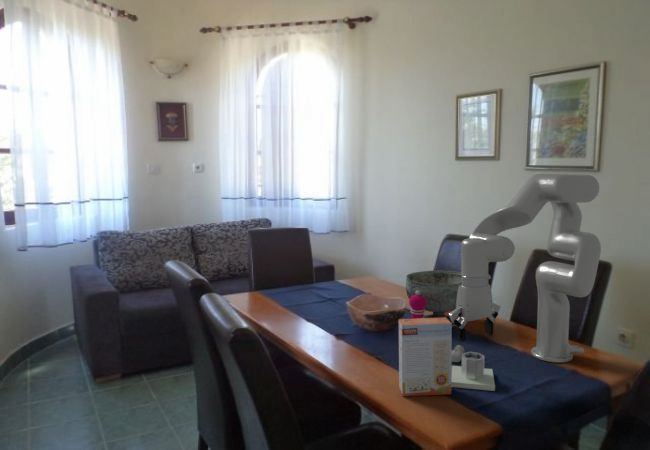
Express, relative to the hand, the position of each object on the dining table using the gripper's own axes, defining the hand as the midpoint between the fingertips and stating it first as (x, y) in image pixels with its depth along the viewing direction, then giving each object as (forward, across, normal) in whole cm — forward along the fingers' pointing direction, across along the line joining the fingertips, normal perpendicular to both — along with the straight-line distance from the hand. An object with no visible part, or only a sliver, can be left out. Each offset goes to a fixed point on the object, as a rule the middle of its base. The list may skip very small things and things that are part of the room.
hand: (475, 337), depth 148 cm
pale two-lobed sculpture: (+14, -4, -15) cm, 21 cm away
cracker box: (+13, +18, +1) cm, 22 cm away
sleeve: (+12, +1, 0) cm, 12 cm away
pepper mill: (+14, +2, -31) cm, 33 cm away
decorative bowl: (+14, -18, -48) cm, 54 cm away
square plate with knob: (+13, +1, 0) cm, 13 cm away
